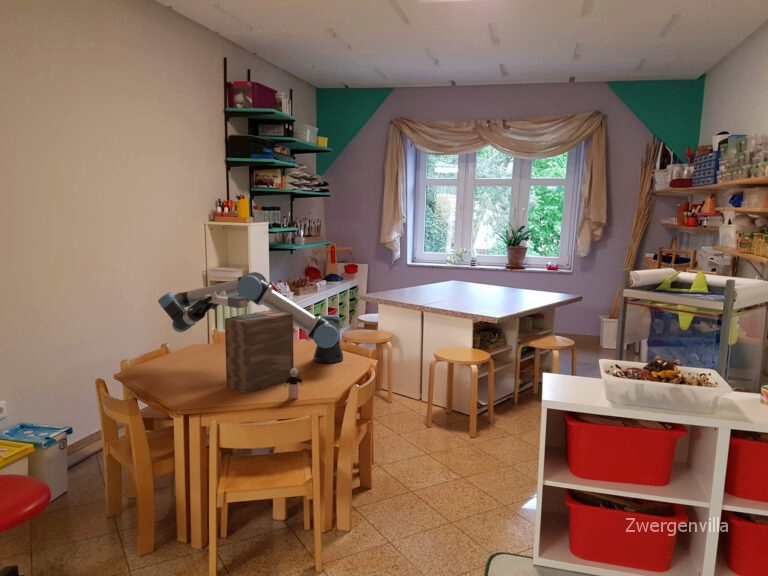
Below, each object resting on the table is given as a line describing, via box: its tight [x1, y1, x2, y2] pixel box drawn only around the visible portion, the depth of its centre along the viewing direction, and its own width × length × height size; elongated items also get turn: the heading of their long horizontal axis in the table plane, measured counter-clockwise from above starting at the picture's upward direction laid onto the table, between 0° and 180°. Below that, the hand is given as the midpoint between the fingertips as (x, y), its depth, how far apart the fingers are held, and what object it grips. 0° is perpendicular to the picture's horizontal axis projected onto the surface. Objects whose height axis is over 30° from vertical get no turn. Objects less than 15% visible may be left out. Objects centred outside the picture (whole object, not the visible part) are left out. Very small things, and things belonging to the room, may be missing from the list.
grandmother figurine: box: [284, 367, 304, 401], centre depth 226 cm, size 8×4×13 cm, turn 114°
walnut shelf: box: [224, 309, 295, 395], centre depth 244 cm, size 14×26×30 cm, turn 143°
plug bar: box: [204, 294, 249, 309], centre depth 246 cm, size 26×5×4 cm, turn 53°
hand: (220, 293), depth 247 cm, fingers closed on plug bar, 4 cm apart
